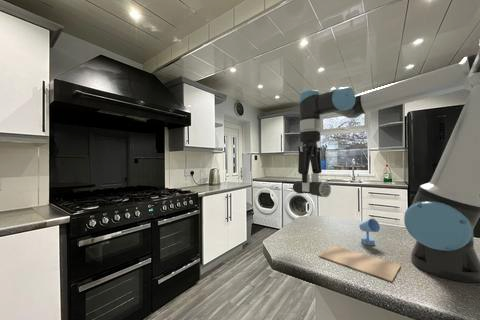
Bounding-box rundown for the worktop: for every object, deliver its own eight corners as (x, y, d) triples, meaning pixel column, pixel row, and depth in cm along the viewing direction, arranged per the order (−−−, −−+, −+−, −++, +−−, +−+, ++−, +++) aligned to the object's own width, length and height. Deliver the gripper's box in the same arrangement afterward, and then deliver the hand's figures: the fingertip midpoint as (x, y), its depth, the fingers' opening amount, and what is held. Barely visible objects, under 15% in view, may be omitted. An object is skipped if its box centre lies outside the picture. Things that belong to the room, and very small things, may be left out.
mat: (400, 266, 61) (400, 265, 61) (391, 282, 53) (391, 280, 53) (333, 246, 76) (333, 245, 76) (318, 256, 68) (318, 255, 68)
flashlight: (291, 193, 85) (291, 180, 85) (301, 192, 87) (301, 180, 87) (320, 197, 71) (319, 182, 71) (331, 196, 73) (330, 181, 74)
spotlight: (382, 246, 76) (366, 239, 83) (381, 219, 76) (366, 215, 83) (371, 247, 75) (356, 240, 82) (370, 220, 75) (356, 215, 82)
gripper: (313, 134, 88) (313, 187, 88) (287, 130, 75) (288, 192, 75) (330, 132, 83) (331, 189, 83) (305, 127, 70) (306, 194, 69)
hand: (310, 190), depth 79 cm, fingers closed on flashlight, 6 cm apart
